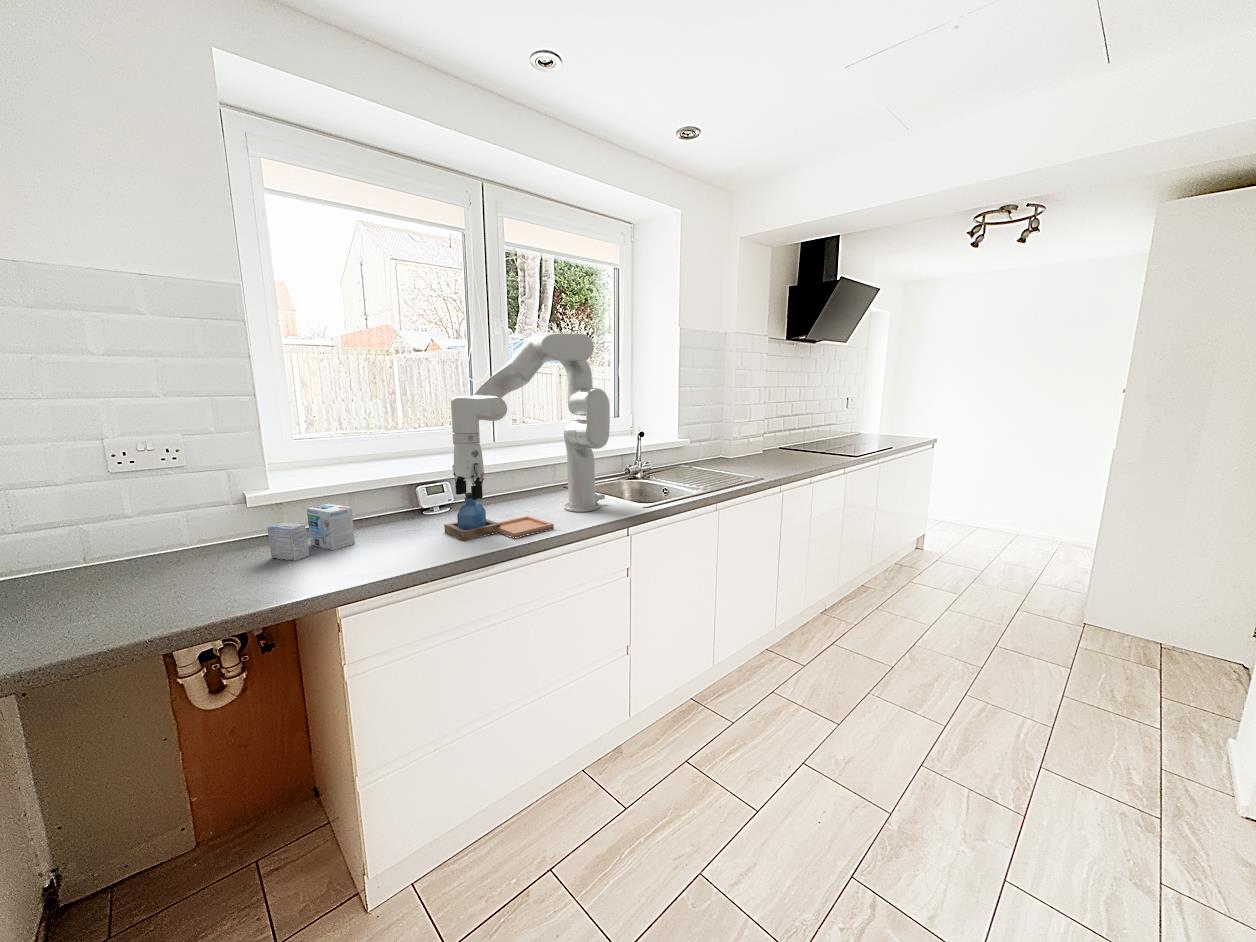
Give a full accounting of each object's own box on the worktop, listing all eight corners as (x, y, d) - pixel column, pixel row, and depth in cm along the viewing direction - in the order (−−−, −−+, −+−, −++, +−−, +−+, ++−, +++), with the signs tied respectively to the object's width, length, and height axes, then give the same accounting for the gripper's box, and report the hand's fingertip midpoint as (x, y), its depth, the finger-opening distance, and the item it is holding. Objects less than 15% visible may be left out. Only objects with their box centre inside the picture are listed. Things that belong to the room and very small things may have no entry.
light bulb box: (309, 545, 141) (305, 508, 139) (333, 538, 147) (329, 502, 145) (333, 550, 136) (328, 512, 134) (356, 543, 142) (352, 506, 140)
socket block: (480, 524, 160) (480, 516, 159) (500, 531, 151) (500, 523, 151) (444, 532, 151) (444, 524, 151) (463, 540, 143) (463, 532, 143)
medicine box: (310, 555, 132) (306, 524, 130) (294, 561, 127) (290, 528, 126) (286, 553, 134) (282, 522, 132) (270, 559, 130) (266, 526, 128)
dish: (527, 520, 164) (527, 515, 164) (553, 528, 154) (553, 523, 154) (489, 529, 154) (489, 524, 154) (514, 538, 144) (514, 533, 144)
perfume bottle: (486, 529, 154) (484, 491, 152) (478, 535, 148) (476, 495, 146) (467, 529, 155) (464, 491, 153) (458, 535, 149) (455, 495, 147)
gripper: (493, 440, 143) (495, 498, 146) (464, 436, 155) (466, 490, 158) (468, 442, 138) (471, 502, 141) (440, 437, 150) (443, 493, 153)
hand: (469, 496), depth 149 cm, fingers open, 9 cm apart
